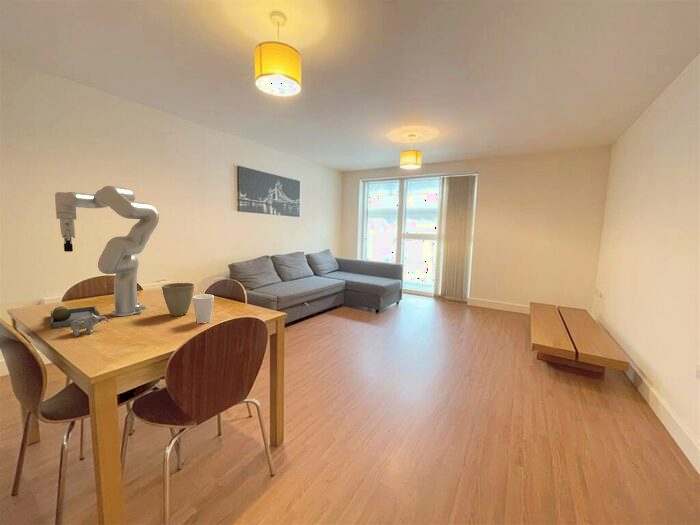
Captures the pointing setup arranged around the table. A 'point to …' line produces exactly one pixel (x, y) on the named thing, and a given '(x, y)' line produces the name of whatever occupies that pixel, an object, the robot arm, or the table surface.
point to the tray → (74, 316)
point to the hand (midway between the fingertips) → (68, 251)
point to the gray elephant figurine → (85, 323)
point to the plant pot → (178, 297)
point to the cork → (61, 314)
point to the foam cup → (203, 307)
